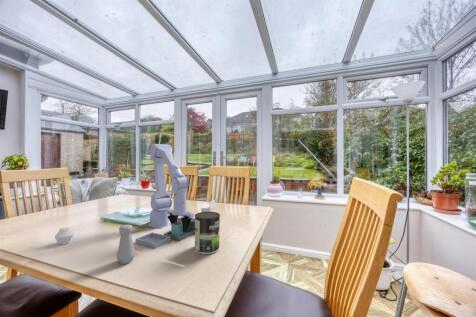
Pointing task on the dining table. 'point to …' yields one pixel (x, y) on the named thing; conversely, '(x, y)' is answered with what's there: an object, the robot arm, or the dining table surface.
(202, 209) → the ink cartridge box
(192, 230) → the bay
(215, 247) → the coffee can
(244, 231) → the dining table surface
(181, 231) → the teal block grey face
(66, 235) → the muffin
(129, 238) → the salt shaker
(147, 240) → the tray
